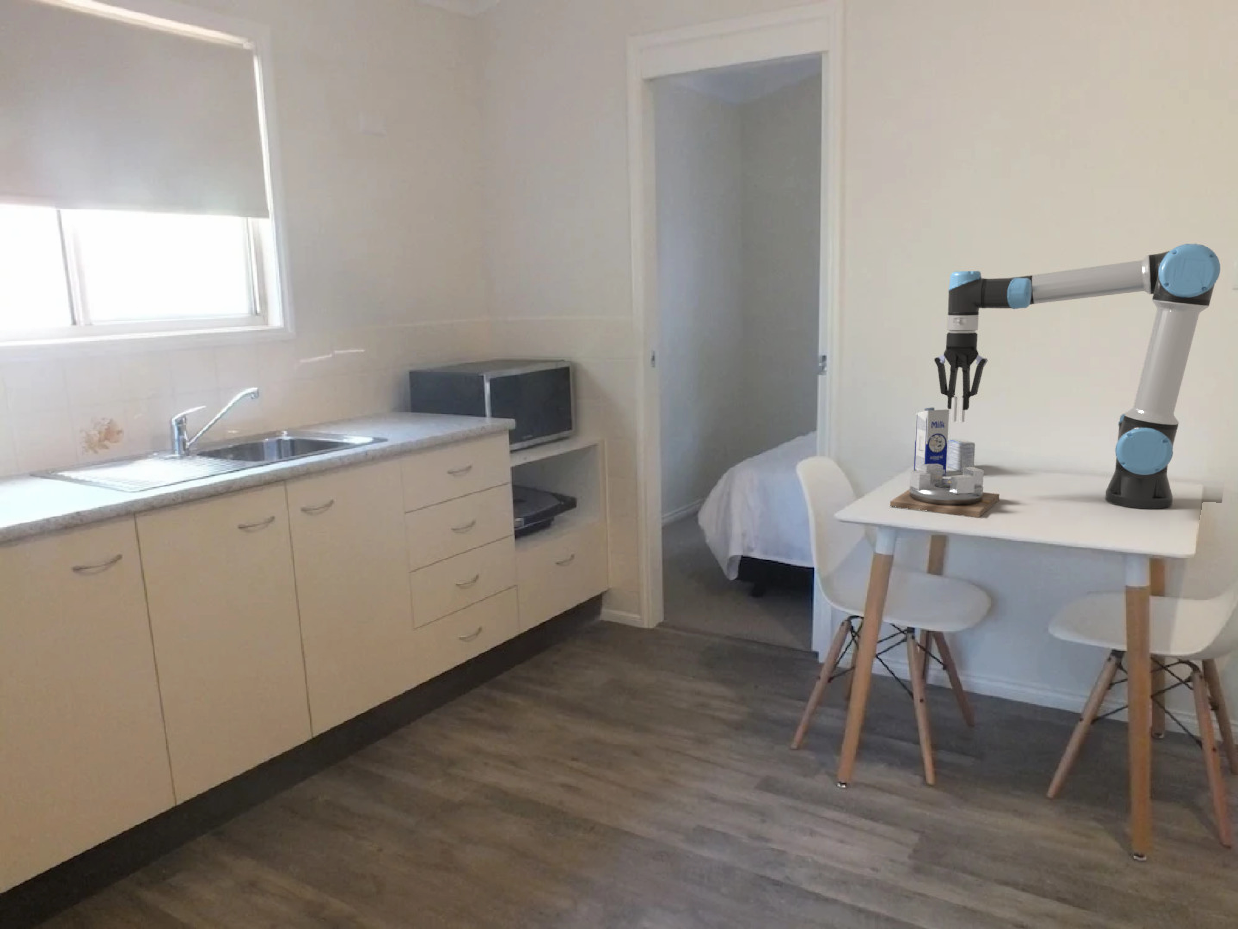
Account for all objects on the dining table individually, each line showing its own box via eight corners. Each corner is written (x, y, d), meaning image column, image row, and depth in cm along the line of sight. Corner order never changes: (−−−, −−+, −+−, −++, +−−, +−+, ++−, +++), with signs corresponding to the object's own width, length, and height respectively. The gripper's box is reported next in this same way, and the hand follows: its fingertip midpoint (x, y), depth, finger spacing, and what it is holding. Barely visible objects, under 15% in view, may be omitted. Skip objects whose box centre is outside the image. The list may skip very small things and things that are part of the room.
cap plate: (999, 499, 246) (999, 493, 245) (979, 517, 228) (979, 510, 227) (915, 490, 258) (915, 484, 257) (890, 507, 240) (890, 500, 239)
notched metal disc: (989, 493, 245) (991, 467, 243) (972, 508, 230) (974, 480, 229) (920, 486, 255) (922, 461, 253) (900, 499, 240) (901, 473, 239)
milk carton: (924, 476, 275) (927, 409, 271) (913, 472, 281) (915, 406, 277) (946, 475, 276) (949, 408, 272) (934, 471, 283) (937, 405, 279)
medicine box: (974, 470, 282) (975, 442, 280) (961, 471, 281) (962, 443, 279) (959, 466, 290) (960, 438, 288) (946, 466, 289) (947, 439, 287)
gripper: (929, 332, 242) (925, 421, 246) (987, 332, 234) (982, 425, 238) (937, 330, 248) (933, 418, 252) (994, 331, 240) (989, 421, 244)
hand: (957, 421), depth 245 cm, fingers closed
